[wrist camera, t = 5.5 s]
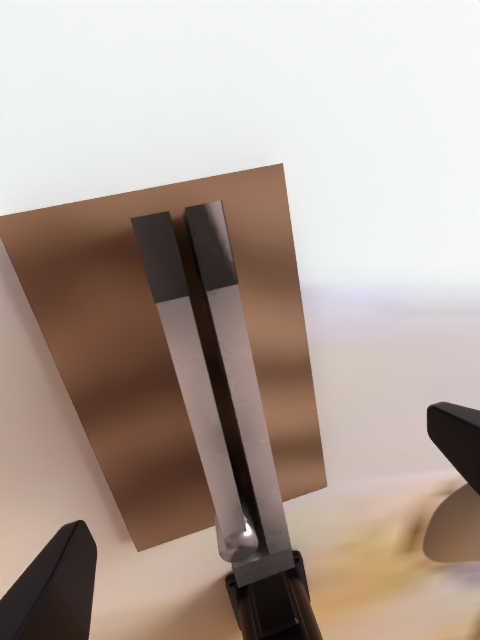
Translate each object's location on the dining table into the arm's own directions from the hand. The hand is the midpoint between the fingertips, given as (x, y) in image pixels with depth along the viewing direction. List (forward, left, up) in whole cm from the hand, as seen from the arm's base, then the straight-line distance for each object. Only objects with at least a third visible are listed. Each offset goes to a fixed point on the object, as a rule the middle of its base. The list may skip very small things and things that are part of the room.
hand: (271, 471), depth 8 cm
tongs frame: (-3, +1, -10) cm, 11 cm away
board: (-3, +2, -12) cm, 12 cm away
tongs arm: (-2, +2, -10) cm, 10 cm away
